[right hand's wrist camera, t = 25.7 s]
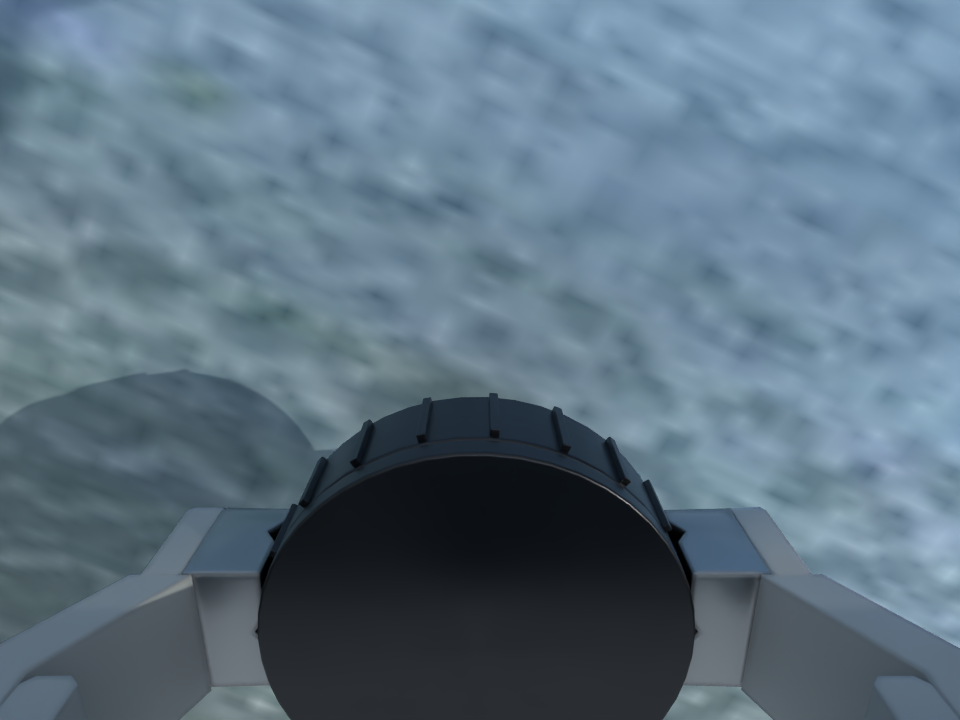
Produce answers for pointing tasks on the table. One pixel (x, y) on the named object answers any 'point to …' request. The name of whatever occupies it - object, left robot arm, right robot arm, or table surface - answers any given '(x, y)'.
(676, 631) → the lid
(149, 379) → the table surface
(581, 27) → the table surface
